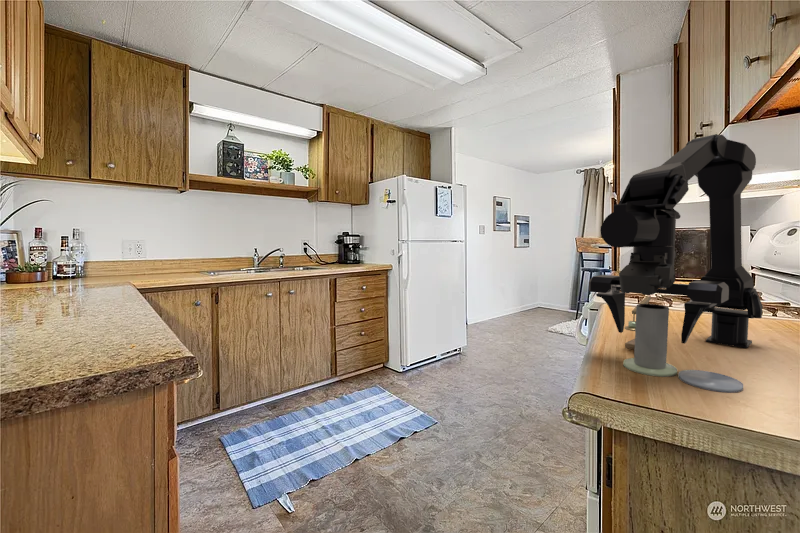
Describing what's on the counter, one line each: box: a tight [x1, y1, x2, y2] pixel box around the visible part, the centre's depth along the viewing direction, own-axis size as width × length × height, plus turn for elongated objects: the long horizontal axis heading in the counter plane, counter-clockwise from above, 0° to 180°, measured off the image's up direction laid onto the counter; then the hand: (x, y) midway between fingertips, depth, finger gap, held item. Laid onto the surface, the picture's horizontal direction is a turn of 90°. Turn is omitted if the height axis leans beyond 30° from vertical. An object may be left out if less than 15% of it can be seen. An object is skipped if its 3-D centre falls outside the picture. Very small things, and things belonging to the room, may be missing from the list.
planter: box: [633, 303, 670, 369], centre depth 61 cm, size 4×4×10 cm
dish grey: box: [677, 369, 744, 394], centre depth 56 cm, size 8×8×1 cm
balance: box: [624, 295, 652, 351], centre depth 74 cm, size 11×4×10 cm, turn 128°
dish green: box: [623, 357, 678, 378], centre depth 62 cm, size 8×8×1 cm
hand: (650, 337), depth 61 cm, fingers open, 9 cm apart
